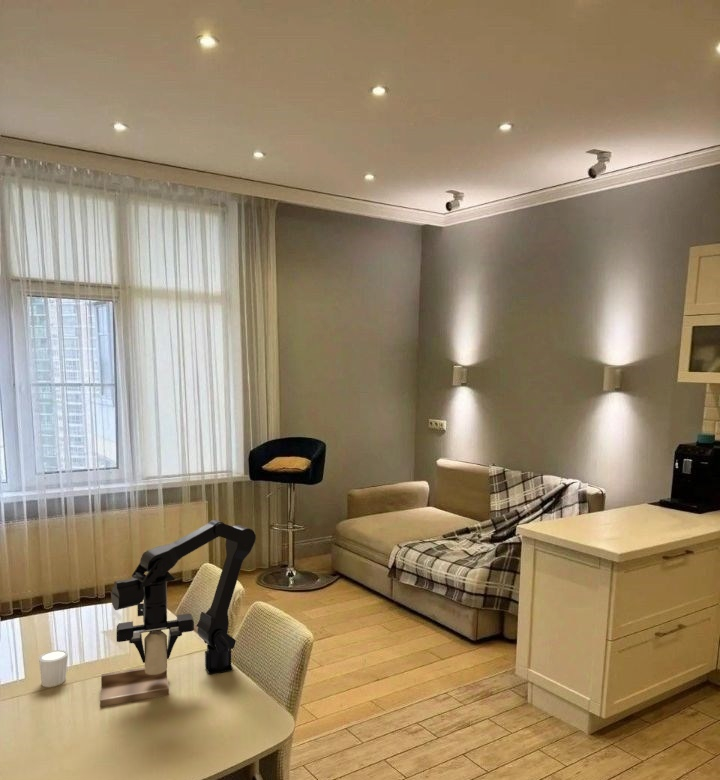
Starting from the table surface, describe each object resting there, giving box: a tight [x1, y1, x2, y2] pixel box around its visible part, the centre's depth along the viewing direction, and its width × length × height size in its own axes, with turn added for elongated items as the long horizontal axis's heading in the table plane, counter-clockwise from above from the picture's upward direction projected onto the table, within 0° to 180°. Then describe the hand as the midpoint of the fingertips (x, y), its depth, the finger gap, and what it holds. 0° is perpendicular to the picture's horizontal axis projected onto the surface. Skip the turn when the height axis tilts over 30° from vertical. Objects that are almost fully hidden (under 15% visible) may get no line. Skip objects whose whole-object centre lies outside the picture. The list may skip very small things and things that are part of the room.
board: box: [99, 666, 170, 707], centre depth 155 cm, size 16×9×4 cm, turn 111°
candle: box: [143, 630, 168, 675], centre depth 157 cm, size 6×6×10 cm
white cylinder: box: [38, 649, 69, 688], centre depth 161 cm, size 7×7×7 cm
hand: (156, 660), depth 157 cm, fingers closed on candle, 5 cm apart
